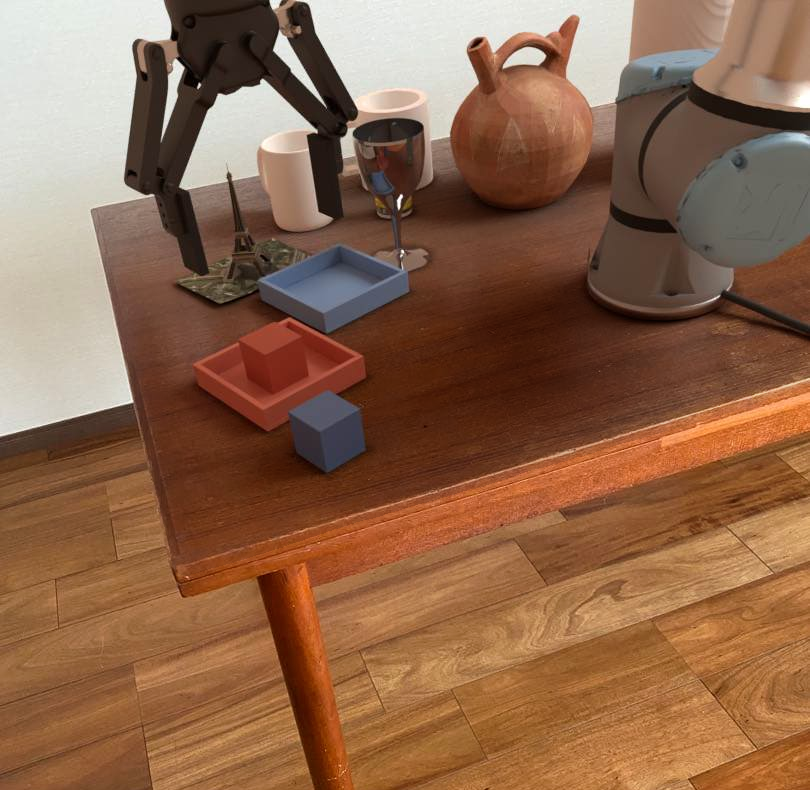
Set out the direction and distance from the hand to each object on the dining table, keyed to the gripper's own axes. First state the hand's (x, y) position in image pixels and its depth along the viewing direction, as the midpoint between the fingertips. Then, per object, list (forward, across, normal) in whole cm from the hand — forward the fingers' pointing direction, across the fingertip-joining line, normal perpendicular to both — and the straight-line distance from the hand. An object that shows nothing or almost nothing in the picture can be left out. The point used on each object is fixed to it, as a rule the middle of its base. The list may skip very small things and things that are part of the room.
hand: (266, 241), depth 74 cm
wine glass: (+17, -27, -17) cm, 36 cm away
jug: (+17, -51, -20) cm, 57 cm away
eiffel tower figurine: (+17, -13, -28) cm, 36 cm away
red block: (+16, -1, -5) cm, 17 cm away
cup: (+17, -26, -38) cm, 49 cm away
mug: (+17, -42, -37) cm, 59 cm away
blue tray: (+17, -16, -16) cm, 28 cm away
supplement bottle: (+17, -36, -28) cm, 49 cm away
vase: (+17, -71, -10) cm, 74 cm away
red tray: (+17, -2, -5) cm, 18 cm away
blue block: (+17, +2, +8) cm, 19 cm away
